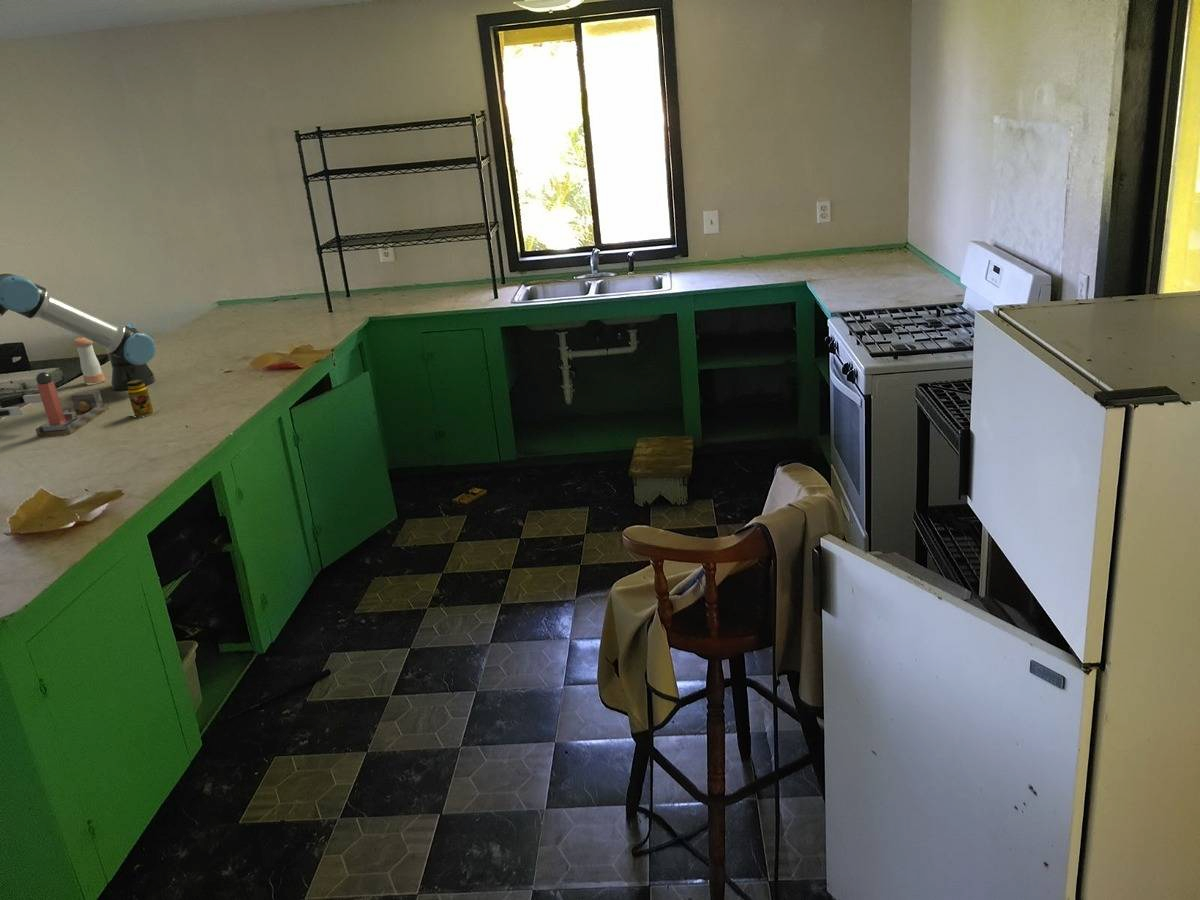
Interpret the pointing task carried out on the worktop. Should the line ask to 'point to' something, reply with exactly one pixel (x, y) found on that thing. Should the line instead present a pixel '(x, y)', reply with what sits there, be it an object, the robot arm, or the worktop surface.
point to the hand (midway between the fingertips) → (32, 404)
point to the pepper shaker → (88, 361)
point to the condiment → (139, 398)
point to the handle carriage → (53, 404)
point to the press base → (79, 412)
